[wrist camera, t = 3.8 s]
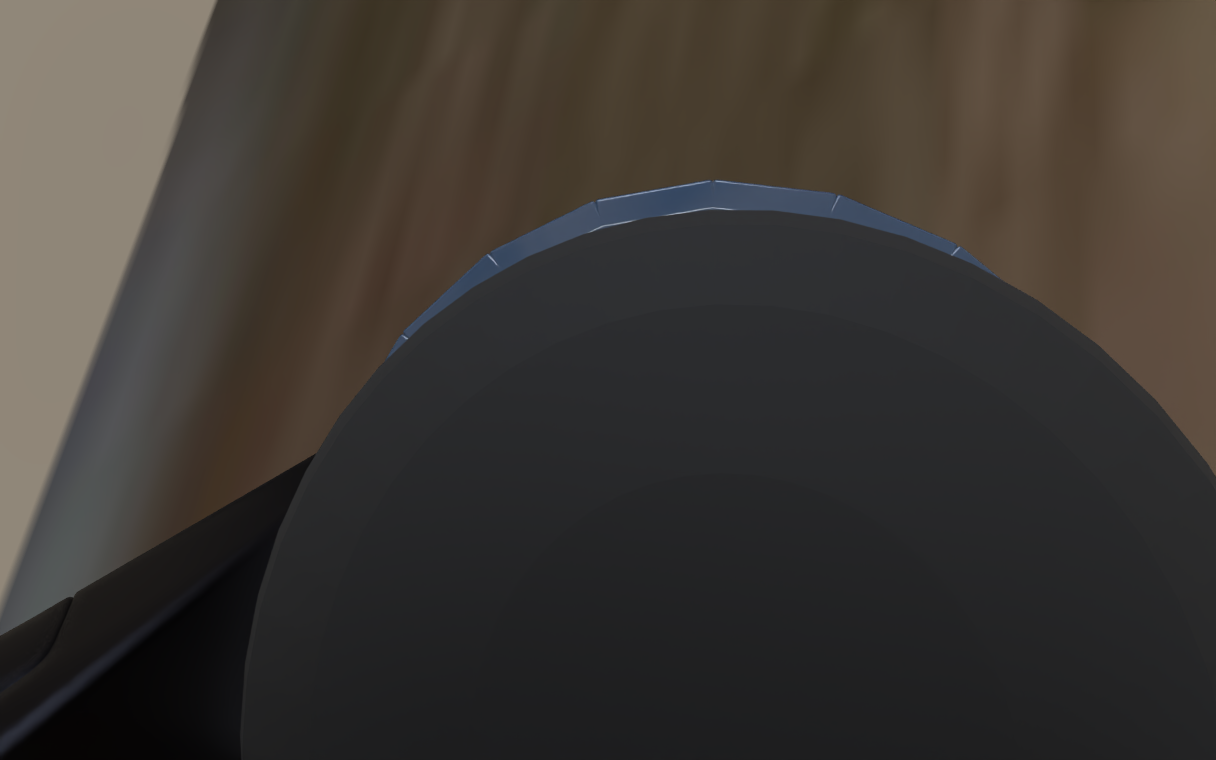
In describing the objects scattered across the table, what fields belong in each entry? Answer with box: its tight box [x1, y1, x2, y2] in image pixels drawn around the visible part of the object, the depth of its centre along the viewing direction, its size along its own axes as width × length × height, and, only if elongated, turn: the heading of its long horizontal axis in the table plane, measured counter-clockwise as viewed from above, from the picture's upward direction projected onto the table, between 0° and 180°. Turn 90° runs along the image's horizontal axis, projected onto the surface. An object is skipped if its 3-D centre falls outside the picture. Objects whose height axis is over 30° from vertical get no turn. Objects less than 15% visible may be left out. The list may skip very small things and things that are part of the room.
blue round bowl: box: [385, 180, 1003, 361], centre depth 13 cm, size 13×13×5 cm
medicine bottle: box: [240, 210, 1216, 760], centre depth 9 cm, size 7×7×12 cm
